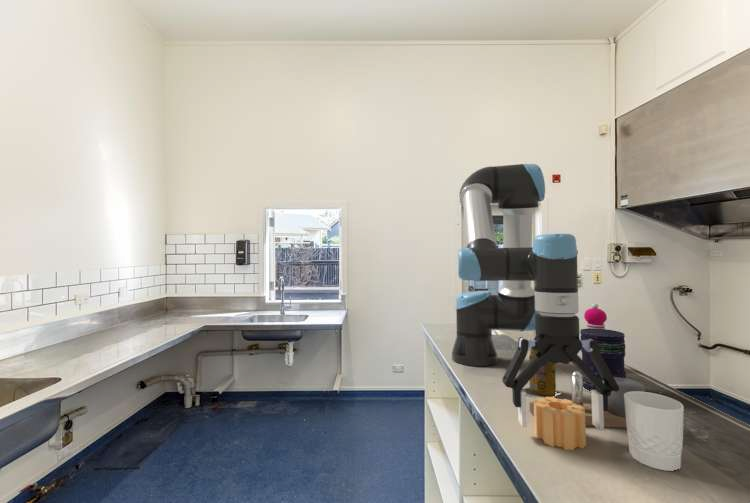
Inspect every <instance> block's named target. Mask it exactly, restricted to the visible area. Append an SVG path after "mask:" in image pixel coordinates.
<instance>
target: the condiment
mask: <svg viewBox="0 0 750 503" xmlns="http://www.w3.org/2000/svg"><path fill="white" fill-rule="evenodd" d="M537 351H538V350H537V349H536V348H535V346H533V347H532V348H531V350H529V356H528V359H529V360H528V363H529V362H530V361H531V360H532V358H533V356H534V355H535V353H536V352H537ZM556 379H557V378H556V364H551V363H550V362H547V363H546V364H545V365H544V366H542V367H541V368H540V369H539V370H538V371H537V372H536V373H535V375H534V376H533V377H532V378H531V379H530V380H529V387H526V388H524V389H523V390H524V391H525V392H526V396H528V397H531V398H532V399H537V398H541V399H543V398H546V397H553V396H554V397H555V398H556V397H558V396H555V394H556V393H555V392H556V391H557V389H556V388H557V384H556V383H557V382H556Z"/></svg>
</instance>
